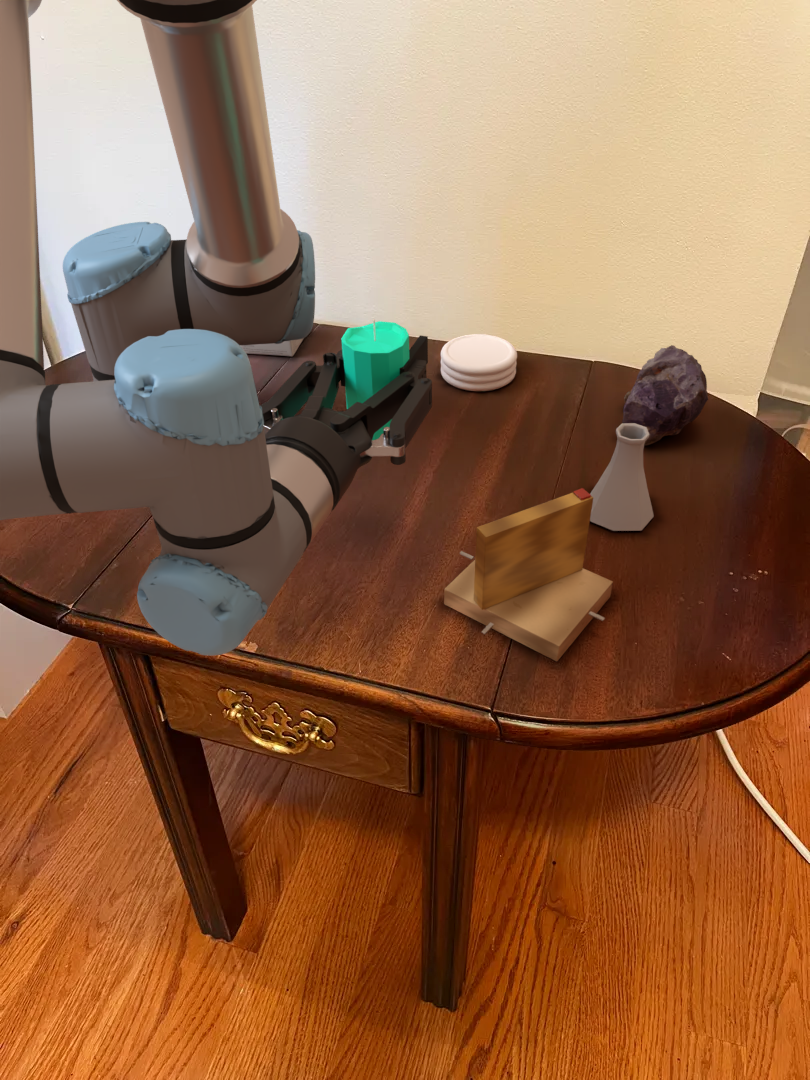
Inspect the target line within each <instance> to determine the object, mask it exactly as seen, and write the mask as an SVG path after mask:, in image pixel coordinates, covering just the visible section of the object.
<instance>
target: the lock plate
mask: <svg viewBox="0 0 810 1080" xmlns="http://www.w3.org/2000/svg"><path fill="white" fill-rule="evenodd" d="M459 555H461V556H463V557H465V558H466V559H468V560H469V559H470V560H473V559H474V560H473V561H472V562H470V564H468V566H466V568H465V569H463V570H462V571H461V572H460V573H459V574H458V575H457V576H456V577H455V578H454V579H453V580H452V581H451V582H450V583H449V584H448V585H447V586H446V587H444V590H443V604H444V605H445V606H446V607H449V608H451V609H453V610H455V611H457V612H459V613H460V614H463V615H465V616H466V617H469V618H470V619H472V620H474V621H477V622H478V623H480V624H482V625H484V626H485V627H484V628H483V629H482V631H481V634H483V635H486V634H488V632H489V631H490V630H491V629H493V630H494V631H496V632H498V633H500V634H502V635H504V636H506V637H507V638H509V639H512V640H514V641H516V642H517V643H520V644H521V645H523V646H525V647H527V648H529V649H531V650H533V651H535V652H537V653H539V654H541V655H543V656H545V657H547V658H549V659H551V660H553V661H555V662H558V661H559V660H560V659H561V657H562V656H563V655H564V654H565V653H566V652H567V650H568V649H569V648H570V646H571V645H572V644H573V643H574V642H575V641H576V639H577V638H578V637H579V636H580V634H582V632H583V631H584V629H585V628H586V627H587V626H588V625H589V623H590V622H591V621H592V620H593V619H597V620H599V621H601V622H603V621H605V619H606V617H604V616H602V615H600V614H598V613H599V611H600V610H601V609H602V607H603V606H604V605H605V604H606V603H607V602H608V601H609V599H610V598H611V594H612V590H613V584H614V581H613V580H610V579H608V578H606V577H604V576H601V575H599V574H597V573H595V572H593V571H590V570H588V569H585V568H584V567H583V569H582V570H581V571H578V572H576V573H573V574H571V575H568V576H566V577H563V578H561V579H558V580H556V581H553V582H551V583H548V584H546V585H543V586H541V587H538V588H536V589H533V590H531V591H528V592H526V593H523V594H521V595H518V596H516V597H513V598H511V599H508V600H506V601H503V602H501V603H498V604H496V605H493V606H491V607H488V608H486V609H483V610H482V609H481V608H480V607H479V606H478V605H477V603H476V602H475V601H474V577H475V555H474V556H473V555H471V554H469V553H467V552H465V551H464V550H463V551H462V550H461V551H460V552H459Z"/></svg>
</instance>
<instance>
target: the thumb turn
mask: <svg viewBox="0 0 810 1080" xmlns="http://www.w3.org/2000/svg"><path fill="white" fill-rule="evenodd" d="M592 504H593V497H592V496H591V495H590V493H589V492H588V491H587V490H585V488H584V487H581V488H579V489H575V490H573V491H572V492H570V493H567V494H565V495H562V496H559V497H556V498H554V499H550V500H548V501H545V502H543V503H539V504H537V505H533V506H532V507H529V508H526V509H523V510H519V511H518V512H515V513H512V514H509V515H507V516H504V517H501V518H498V519H495V520H493V521H490V522H486V523H485V524H482V525H478V526H477V527H476V532H475V553H474V554H475V555H474V560H475V577H474V601H475V602H476V603H477V605H478V606H479V607H480V608H481V609H482V610H483V609H486V608H488V607H491V606H493V605H496V604H498V603H501V602H503V601H506V600H508V599H511V598H513V597H516V596H518V595H521V594H523V593H526V592H528V591H531V590H533V589H536V588H538V587H541V586H543V585H546V584H548V583H551V582H553V581H556V580H558V579H561V578H563V577H566V576H568V575H571V574H573V573H576V572H578V571H581V570H582V569H583V568H584V561H585V555H586V549H587V542H588V535H589V528H590V522H591V521H590V517H591V510H592Z"/></svg>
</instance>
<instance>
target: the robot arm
mask: <svg viewBox="0 0 810 1080" xmlns="http://www.w3.org/2000/svg"><path fill="white" fill-rule="evenodd" d="M42 1H43V0H0V521H6V520H13V519H21V518H34V517H35V518H36V517H45V516H54V515H55V516H56V515H64V514H69V515H70V514H76V513H78V514H83V513H93V512H94V513H95V512H107V511H108V512H109V511H120V510H130V509H141V508H142V509H143V508H149V511H150V513H151V516H152V518H153V523H154V527H155V529H156V532H157V536H158V540H159V543H160V553H159V555H158V556H155V557H154V558H153V559H151V560H150V563H149V565H148V567H147V569H146V570H145V572H144V574H143V575H142V576H141V578H140V581H139V583H138V586H137V592H136V601H137V604H138V607H139V610H140V611H141V614H142V616H143V617H144V619H145V620H146V622H147V623H148V624H149V626H150V627H151V628H152V629H153V630H154V631H155V632H156V633H157V634H158V635H159V636H161V637H162V638H163V639H164V640H166V641H167V642H169V643H170V644H171V645H174V646H175V647H177V648H179V649H181V650H184V651H186V652H193V653H197V654H198V655H201V656H209V657H210V656H211V657H213V656H222V655H225V654H227V653H230V652H231V651H234V650H235V649H237V647H238V646H240V645H241V644H242V643H243V641H244V640H245V638H246V637H247V636H248V634H249V633H250V632H251V631H252V629H253V628H254V626H255V625H256V624H257V622H259V621H261V620H262V619H263V618H265V616H266V615H267V613H268V609H269V608H270V605H272V603H273V601H274V600H275V598H276V597H277V596H278V594H279V592H280V591H281V589H282V588H283V587H284V584H285V583H286V582H287V580H288V578H289V577H290V576H291V574H292V572H293V571H294V569H295V568H296V566H297V565H298V563H299V561H300V560H301V558H302V557H303V555H304V553H305V551H306V550H307V549H308V547H309V546H310V544H311V543H312V541H313V540H314V538H315V537H316V536H317V534H318V533H319V531H320V530H321V528H322V527H323V526H324V524H325V522H326V521H327V520H328V518H329V516H330V515H331V513H332V512H333V511H334V510H335V508H336V507H337V506H338V504H339V503H340V501H341V499H342V498H343V497H344V495H345V494H346V492H347V490H349V488H350V486H351V485H352V483H353V481H354V479H355V477H356V474H357V472H358V470H359V469H360V468H362V467H363V466H365V465H367V464H368V463H370V462H371V460H372V459H373V458H375V457H389V458H390V459H389V460H390V463H391V464H392V465H394V466H400V465H403V464H405V463H406V459H407V458H406V449H407V447H408V445H409V444H410V442H411V441H412V439H413V437H414V436H415V435H416V433H417V431H418V430H419V428H420V426H421V425H422V423H423V421H424V420H425V419H426V416H427V415H428V414H429V412H430V410H431V409H432V407H433V381H432V379H431V378H429V377H427V365H428V364H429V355H428V354H429V338H428V337H429V336H427V335H419V336H418V337H417V339H416V340H415V341H414V343H413V344H412V346H411V347H409V360H408V361H407V363H406V364H405V365H404V366H403V367H401V368H400V375H399V376H398V377H396V378H395V379H394V380H392V381H391V382H390V383H388V384H387V385H386V386H384V387H383V388H382V389H381V390H379V391H378V392H377V393H375V394H374V395H373V396H371V397H370V398H369V399H367V400H366V401H365V402H364V403H360V402H356V403H355V404H354V405H352V406H351V407H350V408H348V409H347V408H346V409H345V410H343V411H341V410H340V411H339V410H336V409H335V410H334V409H333V408H334V405H335V401H336V398H337V395H338V392H339V389H340V386H341V387H344V388H345V387H346V386H345V374H344V361H343V354H342V349H340V350H339V351H338V352H336V353H335V352H331V351H329V352H326V353H323V354H322V359H323V364H322V365H317V364H316V362H315V361H314V360H306V361H303V362H302V363H301V364H300V365H299V367H297V369H296V370H295V371H294V372H293V373H292V374H291V375H290V376H289V378H288V379H287V380H286V381H285V382H284V383H283V384H282V385H281V386H280V387H279V389H277V391H276V392H275V393H274V394H273V395H272V396H271V397H270V398H269V399H268V400H266V401H265V402H263V403H262V404H260V401H259V397H258V393H257V388H256V383H255V378H254V373H253V368H252V365H251V362H250V359H249V356H248V353H245V351H244V350H243V349H242V347H241V346H240V345H255V344H272V343H275V344H280V343H282V342H284V341H291V340H298V339H303V338H304V339H305V338H306V337H307V336H308V335H310V333H311V332H312V330H313V326H314V321H315V315H316V314H315V312H316V311H315V310H316V290H315V288H316V261H315V249H314V243H313V238H312V236H311V235H310V233H308V232H306V231H301V230H298V229H297V226H296V224H295V222H294V220H293V219H292V217H291V216H290V215H289V214H288V213H287V212H286V211H284V210H283V209H282V208H281V205H280V204H281V203H280V198H279V189H278V183H277V175H276V168H275V161H274V153H273V147H272V139H271V132H270V124H269V117H268V111H267V103H266V95H265V89H264V83H263V82H264V80H263V75H262V74H263V73H262V67H261V66H262V65H261V60H260V53H259V45H258V38H257V31H256V24H255V16H254V10H253V5H254V4H255V3H256V2H257V1H258V0H116V1H117V2H118V4H119V5H120V6H121V7H122V8H124V9H125V10H126V11H127V12H128V13H130V14H132V15H133V16H135V17H137V18H139V19H140V22H141V23H140V24H141V26H142V30H143V34H144V37H145V41H146V45H147V48H148V49H147V50H148V53H149V56H150V60H151V64H152V67H153V72H154V75H155V78H156V83H157V86H158V90H159V93H160V98H161V101H162V105H163V109H164V113H165V117H166V120H167V124H168V128H169V131H170V136H171V139H172V143H173V147H174V150H175V154H176V158H177V162H178V166H179V169H180V173H181V177H182V180H183V184H184V188H185V192H186V196H187V199H188V203H189V206H190V210H191V214H192V218H193V222H192V224H191V226H190V227H189V229H188V233H187V237H186V239H172V236H171V233H170V232H169V231H168V229H167V228H166V226H164V225H163V224H161V223H158V222H153V223H151V222H150V221H136V222H129V223H124V224H118V225H114V226H111V227H107V228H105V229H101V230H99V231H96V232H94V233H92V234H90V235H88V236H86V237H84V238H82V239H80V240H79V241H77V242H76V243H75V244H73V245H72V247H70V248H69V249H68V251H67V252H66V254H65V255H64V257H63V261H62V272H63V276H64V280H65V281H64V282H65V285H66V290H67V294H66V295H67V296H66V297H67V299H68V303H70V304H71V305H70V306H71V308H72V311H73V315H74V318H75V321H76V325H77V329H78V331H79V334H80V338H81V342H82V345H83V348H84V351H85V353H86V358H87V361H88V364H89V368H90V371H91V374H92V375H91V376H92V381H82V382H80V381H79V382H69V383H53V384H46V371H45V359H44V358H45V355H44V337H43V336H44V335H43V332H44V331H43V313H42V311H43V310H42V292H41V291H42V290H41V289H42V288H41V270H40V269H41V268H40V267H41V266H40V247H39V225H38V223H39V221H38V203H37V201H38V199H37V179H36V160H35V155H36V154H35V138H34V137H35V136H34V134H35V133H34V114H33V92H32V91H33V90H32V68H31V67H32V66H31V47H30V46H31V45H30V26H29V25H30V24H29V23H30V22H29V18H31V17H32V16H33V15H34V14H35V13H36V12H37V10H38V9H39V7H41V4H42ZM304 339H303V340H304ZM303 407H304V409H302V408H303ZM301 409H302V411H301V413H299V414H298V412H299V411H300V410H301ZM391 419H392V420H391ZM390 420H391V422H390V427H385V428H383V434H381V435H380V437H379V438H378V439H376V440H372V439H373V436H374V433H375V432H377V431H378V430H379V429H380V428H381V427H383V426H384V425H385V424H386V423H388V422H389V421H390Z"/></svg>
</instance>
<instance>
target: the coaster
mask: <svg viewBox="0 0 810 1080" xmlns="http://www.w3.org/2000/svg"><path fill="white" fill-rule="evenodd" d="M517 359H518V351H517V349H516V347H515V346H514V345H513V344H512V343H511V342H510V341H508V340H507V339H504V338H503V337H501V336H497V335H493V334H485V333H473V334H465V335H460V336H457V337H454V338H452V339H450V340H448V342H446V343H445V344H444V345H443V346H442V348H441V350H440V374H441V376H442V378H443V380H444V381H445V382H446V383H448V384H449V385H451V386H452V387H454V388H457V389H459V390H465V391H469V392H489V391H494V390H498V389H500V388H503V387H505V386H507V385H508V384H510V383H511V382H512V381H513V380H514V379H515V377H516V374H517V365H518V363H517Z"/></svg>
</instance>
